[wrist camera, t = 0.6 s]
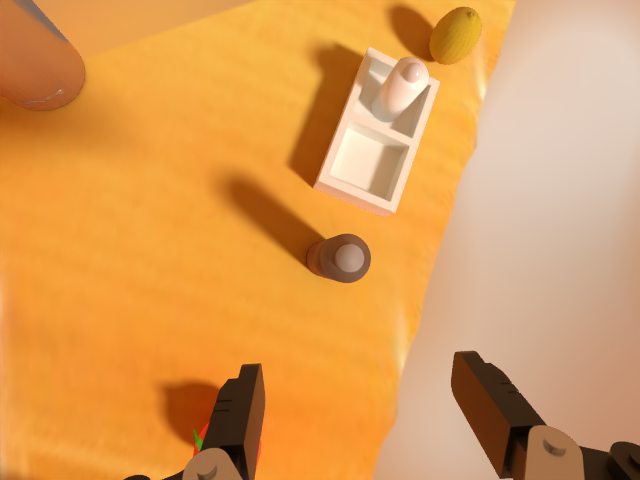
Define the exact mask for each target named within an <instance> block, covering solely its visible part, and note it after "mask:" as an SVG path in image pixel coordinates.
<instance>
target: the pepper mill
mask: <svg viewBox="0 0 640 480" xmlns="http://www.w3.org/2000/svg"><path fill="white" fill-rule="evenodd" d="M370 262H371V255H370V251H369V248H368V246H367V245H366V243H365V242H364V241H363V240H362V239H361V238H359V237H357V236H355V235H352V234H341V235H338V236H335V237H332V238H329V239H326V240H324V241H321V242H318V243H315V244H314V245H312V246H311V247H310V248H309V250H308V252H307V255H306V263H307V266H308V268H309V270H310V271H311V272H312V273H314V274H315V275H318V276H321V277H324V278H328V279H331V280H335V281H339V282H343V283H352V282H355V281H357V280H359V279H361V278H362V277H363V276H364V275H365V274H366V272H367V271H368V269H369V266H370Z"/></svg>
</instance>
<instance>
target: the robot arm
mask: <svg viewBox="0 0 640 480" xmlns="http://www.w3.org/2000/svg"><path fill="white" fill-rule="evenodd" d="M84 79H85V68H84V63H83V61H82V58H81V56H80V55H79V53H78V52H77V50H76V49H75V48H74V47H73V46H72V44H71V43H70V42H69V41H68V40H67V39H66V38H65V37H64V36H63V34H62V33H61V32H60V31H59V30H58V29H57V28H56V26H54V24H53V23H52V22H51V21H50V20H49V19H48V17H46V15H45V14H44V13H43V12H42V11H41V10H40V8H38V6H37V5H36V4H35V3H34V2H33V1H32V0H0V95H2V96H3V97H5V98H7V99H8V100H10V101H11V102H13V103H15V104H16V105H18V106H21V107H24V108H26V109H31V110H51V109H56V108H59V107H61V106H64V105H65V104H67V103H69V102H70V101H72V100H73V99H74V98H75V97H76V96H77V95H78V93H79V91H80V90H81V88H82V86H83V83H84ZM451 387H452V392H453V395H454V397H455V399H456V401H457V403H458V405H459V406H460V408H461V410H462V412H463V413H464V415H465V417H466V419H467V421H468V423H469V424H470V426H471V428H472V430H473V432H474V433H475V435H476V437H477V439H478V440H479V442H480V444H481V446H482V448H483V449H484V451H485V453H486V455H487V457H488V458H489V460H490V462H491V464H492V465H493V467H494V469H495V471H496V473H497V474H498V476H499V478H500V479H505V478H513V480H640V446H639V445H636V444H633V443H629V442H616V443H614V444H613V445H612V446H611V449H610V451H609V452H604V451H600V450H595V449H590V448H585V447H581V446H578V445H577V444H576V442H575V441H574V440H573V439H571V438H570V437H569V436H568V435H567V434H565V433H564V432H562V431H560V430H558V429H556V428H553V427H550V426H547V425H546V424H545V422H544V421H543V420H542V419H541V417H540V416H539V415H538V414H537V413H536V411H535V410H534V409H533V408H532V406H531V405H530V404H529V403H528V402H527V400H526V399H525V398H524V397H523V396H522V394H521V393H519V391H518V389H517V388H516V387H515V386H514V385H513V384H512V382H511V381H510V380H509V378H508V377H507V376H506V375H505V374H504V373H503V372H502V371H501V370H500V369H498V368H497V367H496V366H494V365H493V364H491V363H485V362H484V361H483V360H482V358H481V357H480V356H479V354H478V353H477V352H476V351H461V352H455V354H454V360H453V368H452V377H451ZM264 410H265V390H264V382H263V374H262V366H261V364H260V363H259V364H243V365H242V366H241V370H240V374H239V377H238V378H236V379H228V380H227V382H226V383H225V384H224V385H223V386H222V388H221V389H220V391H219V394H218V397H217V401H216V404H215V407H214V410H213V413H212V416H211V419H210V422H209V425H208V428H207V431H206V434H205V437H204V440H203V443H202V446H201V449H200V451H199V453H198V454H197V455H195V456H194V457H193V458H192V459H191V460H190V461H189V463H188V464H187V466H186V468H185V469H184V470H183V471H181V472H179V473H177V474H175V475H173V476H170V477H168V478H165V479H162V480H254V479H255V472H256V465H257V458H258V451H259V444H260V437H261V431H262V424H263V417H264ZM124 480H150V478H148V477H147V476H144V475H134V476H131V477H128V478H126V479H124Z"/></svg>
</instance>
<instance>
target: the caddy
mask: <svg viewBox="0 0 640 480" xmlns="http://www.w3.org/2000/svg"><path fill="white" fill-rule="evenodd" d="M397 62H398V61H397V60H395V59H393V58H391V57H389V56H387V55H385V54H383V53H381V52H379V51H377V50H375V49H373V48H371V47H369V48H368V50H367V52H366V54H365V56H364V58H363V60H362V62H361V64H360V66H359V69H358V72H357V74H356V77H355V80H354V82H353V85H352V87H351V90H350V93H349V95H348V98H347V100H346V103H345V106H344V108H343V111H342V114H341V116H340V119H339V121H338V124H337V127H336V129H335V132H334V134H333V137H332V140H331V142H330V145H329V148H328V150H327V153H326V155H325V158H324V161H323V163H322V166H321V168H320V171H319V174H318V176H317V179H316V182H315V184H314V187H313V189H316V190H318V191H320V192H323V193H325V194H328V195H330V196H333V197H335V198H337V199H340V200H342V201H345V202H347V203H349V204H352V205H354V206H357V207H359V208H362V209H364V210H366V211H369V212H371V213H374V214H376V215H379V216H381V217H385V216H388V215H391V214H394V213H395V212H396V209H397V206H398V203H399V201H400V198H401V195H402V192H403V189H404V186H405V183H406V180H407V177H408V174H409V172H410V169H411V166H412V163H413V160H414V157H415V154H416V151H417V148H418V145H419V143H420V140H421V137H422V134H423V131H424V128H425V125H426V122H427V119H428V116H429V114H430V111H431V108H432V105H433V102H434V99H435V96H436V93H437V90H438V87H439V85H440V81H438V80H436V79H434V78H432V77H430V76H429V81H428V84H427V86H426V87H425V88H424V90H423V91H422V92H421V93H420V94H419V95H418V96H417V97H416V98H415V99H414V100H413V101H412V103H411V104H410V105H409V106H408V107H407V108H406V109H405V110H404V111H403V112H402V113H401V114H400V116H399V117H398V118H397V119H396V120H394V121H393V122H390V123H384V122H381V121H379V120H378V119H376V118H375V116H374V115H373V113H372V111H371V102H372V100H373V98H374V97H375V95H376V94H377V92H378V91H379V89H380V88H381V86H382V85H383V83H384V82H385V80H386V79H387V77H388V76H389V74H390V73H391V71H392V70H393V68H394V67H395V65H396V64H397Z"/></svg>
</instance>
